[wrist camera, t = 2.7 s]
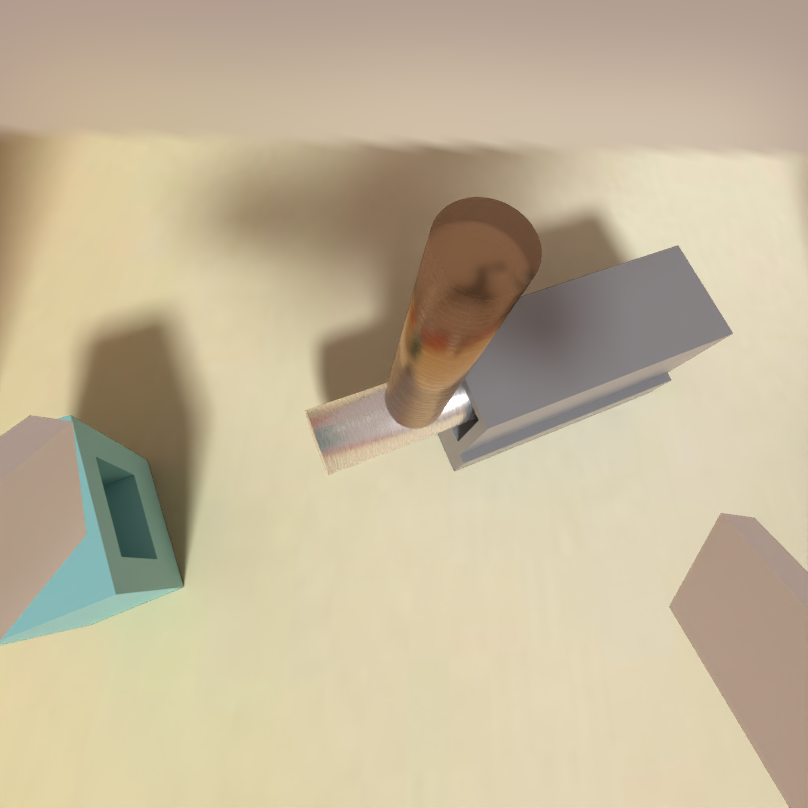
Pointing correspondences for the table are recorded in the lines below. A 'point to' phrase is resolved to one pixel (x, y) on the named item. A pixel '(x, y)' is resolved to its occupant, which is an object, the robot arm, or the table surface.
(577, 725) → the table surface
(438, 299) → the sliding bolt
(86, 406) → the table surface
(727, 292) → the table surface
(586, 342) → the outer sleeve
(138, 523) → the end socket
